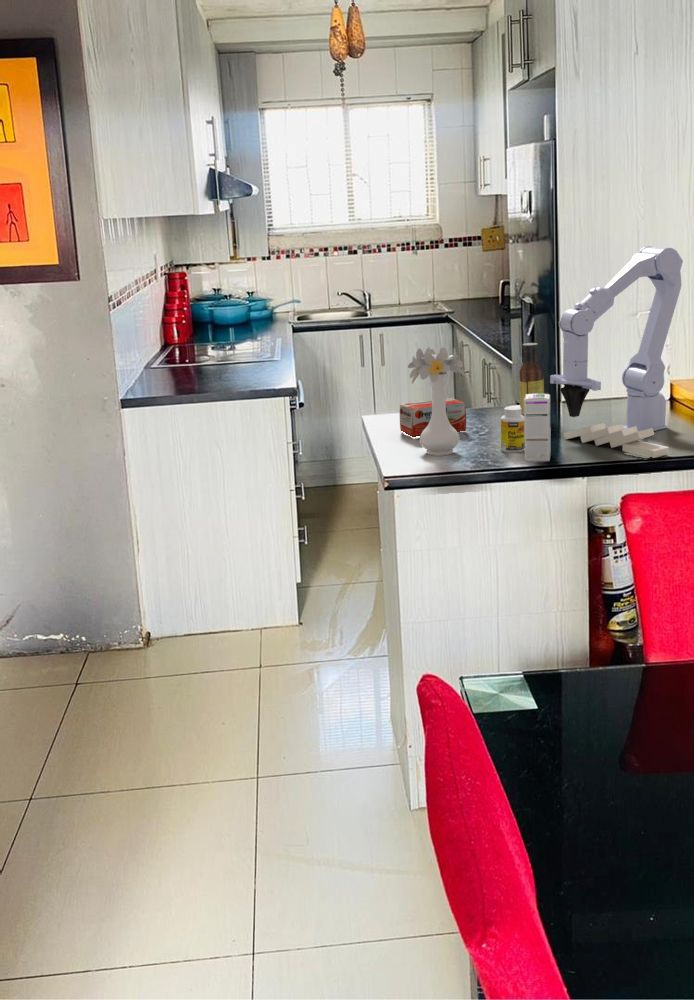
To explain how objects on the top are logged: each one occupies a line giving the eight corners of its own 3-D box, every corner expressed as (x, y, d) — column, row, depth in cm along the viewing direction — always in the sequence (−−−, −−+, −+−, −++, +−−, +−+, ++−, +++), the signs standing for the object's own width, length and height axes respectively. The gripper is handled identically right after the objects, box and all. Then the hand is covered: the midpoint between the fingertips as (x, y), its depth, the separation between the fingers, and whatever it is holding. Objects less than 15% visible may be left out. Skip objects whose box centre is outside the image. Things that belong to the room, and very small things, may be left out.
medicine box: (452, 426, 275) (451, 396, 273) (467, 433, 268) (466, 402, 266) (399, 434, 270) (398, 403, 268) (413, 440, 263) (412, 409, 261)
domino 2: (580, 436, 252) (607, 427, 245) (594, 433, 255) (621, 424, 247) (582, 443, 252) (609, 434, 244) (596, 439, 255) (623, 430, 247)
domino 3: (594, 439, 249) (621, 429, 241) (608, 436, 252) (636, 426, 244) (596, 446, 249) (623, 436, 241) (610, 442, 251) (638, 432, 244)
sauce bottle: (547, 417, 280) (548, 342, 274) (538, 422, 275) (539, 346, 269) (524, 415, 284) (525, 341, 278) (515, 420, 279) (515, 345, 273)
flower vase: (449, 441, 260) (447, 339, 253) (477, 458, 243) (476, 349, 235) (398, 446, 257) (395, 343, 249) (424, 464, 240) (421, 354, 232)
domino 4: (609, 441, 245) (637, 431, 237) (624, 437, 248) (652, 427, 240) (611, 448, 245) (639, 438, 237) (626, 444, 248) (654, 434, 240)
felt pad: (641, 450, 243) (641, 448, 243) (662, 454, 239) (662, 453, 238) (624, 454, 240) (624, 453, 240) (645, 459, 235) (645, 458, 235)
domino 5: (622, 444, 242) (654, 451, 235) (637, 440, 244) (669, 447, 237) (622, 450, 242) (653, 458, 235) (637, 447, 245) (668, 454, 238)
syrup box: (550, 461, 237) (550, 398, 233) (523, 461, 238) (523, 398, 234) (550, 455, 243) (551, 393, 238) (524, 455, 244) (524, 393, 240)
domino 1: (563, 433, 256) (590, 426, 249) (577, 429, 259) (604, 422, 251) (565, 439, 256) (591, 432, 249) (579, 436, 259) (606, 429, 251)
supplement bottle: (505, 454, 245) (505, 411, 242) (497, 449, 250) (497, 406, 247) (528, 452, 246) (528, 409, 243) (519, 446, 251) (519, 404, 248)
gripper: (541, 359, 255) (540, 414, 259) (586, 365, 244) (585, 423, 248) (562, 355, 259) (561, 409, 263) (607, 361, 248) (606, 418, 252)
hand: (574, 416), depth 256 cm, fingers closed
